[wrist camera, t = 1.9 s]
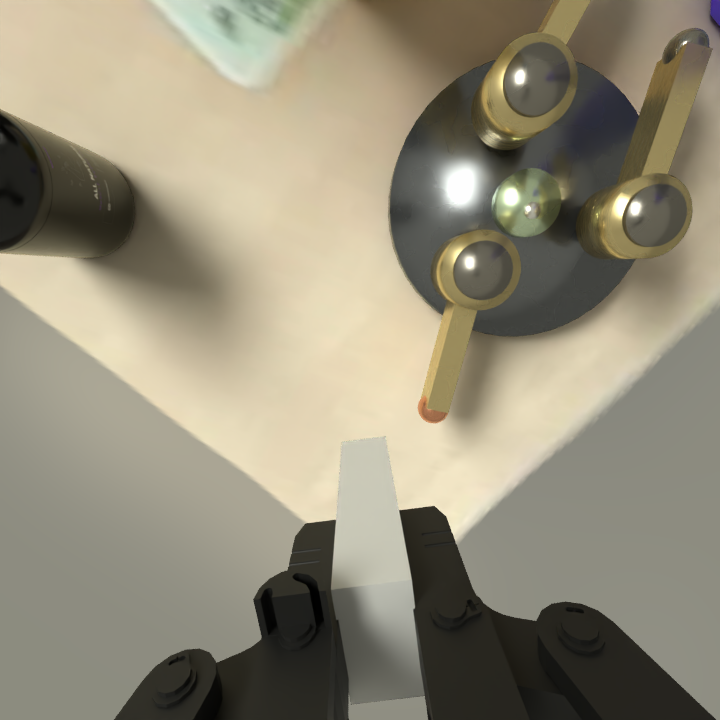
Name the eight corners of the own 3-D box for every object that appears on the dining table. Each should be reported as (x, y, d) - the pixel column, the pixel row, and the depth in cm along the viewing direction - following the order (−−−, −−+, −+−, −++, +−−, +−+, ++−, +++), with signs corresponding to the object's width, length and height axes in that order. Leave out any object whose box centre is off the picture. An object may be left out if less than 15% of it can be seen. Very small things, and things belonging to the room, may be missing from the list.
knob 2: (630, 266, 26) (679, 266, 22) (566, 251, 26) (603, 248, 22) (706, 55, 24) (776, 13, 20) (635, 36, 23) (692, -11, 19)
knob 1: (440, 227, 25) (455, 220, 22) (507, 243, 26) (534, 239, 22) (394, 407, 28) (401, 430, 24) (455, 420, 28) (472, 444, 24)
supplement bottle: (157, 190, 27) (4, 130, 15) (111, 277, 28) (-62, 285, 16) (60, 127, 26) (-181, 12, 14) (18, 220, 27) (-236, 184, 16)
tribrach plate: (423, 35, 25) (431, 8, 22) (678, 102, 26) (714, 84, 23) (363, 305, 29) (364, 308, 26) (589, 354, 30) (612, 363, 27)
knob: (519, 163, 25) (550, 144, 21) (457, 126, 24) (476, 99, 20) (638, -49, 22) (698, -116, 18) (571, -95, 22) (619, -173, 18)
